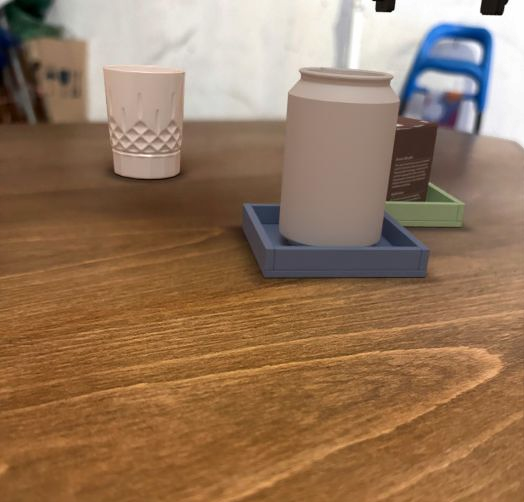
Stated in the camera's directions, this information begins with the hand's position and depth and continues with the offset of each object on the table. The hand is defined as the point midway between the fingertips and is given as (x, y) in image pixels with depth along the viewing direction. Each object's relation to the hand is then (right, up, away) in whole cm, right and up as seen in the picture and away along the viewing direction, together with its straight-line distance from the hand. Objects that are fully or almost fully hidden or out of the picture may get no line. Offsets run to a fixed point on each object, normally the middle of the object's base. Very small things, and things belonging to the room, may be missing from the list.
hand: (438, 13), depth 57 cm
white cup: (-27, -10, +12) cm, 32 cm away
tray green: (-4, -16, +4) cm, 17 cm away
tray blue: (-10, -21, -7) cm, 25 cm away
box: (-4, -15, +4) cm, 17 cm away
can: (-10, -21, -8) cm, 25 cm away
